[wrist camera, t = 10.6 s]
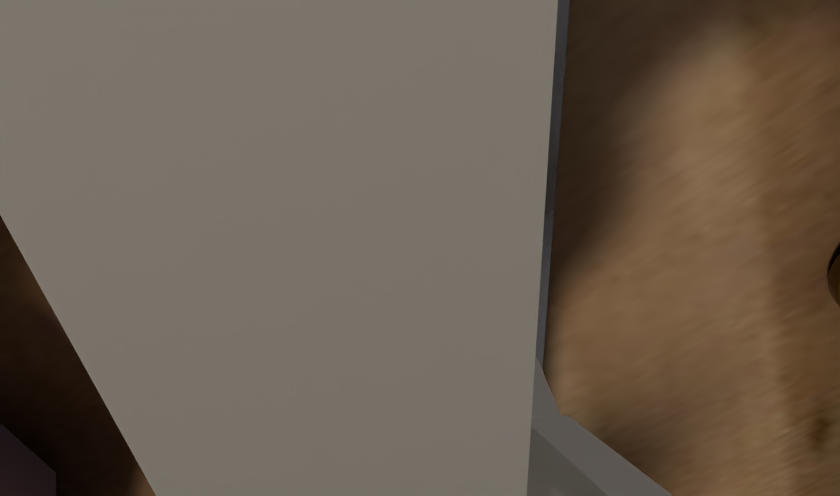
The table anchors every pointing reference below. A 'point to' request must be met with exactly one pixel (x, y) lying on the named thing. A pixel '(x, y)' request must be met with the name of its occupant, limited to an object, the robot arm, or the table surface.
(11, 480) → the flask
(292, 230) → the door panel
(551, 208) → the floor track
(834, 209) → the table surface
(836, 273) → the dark grey small vase
